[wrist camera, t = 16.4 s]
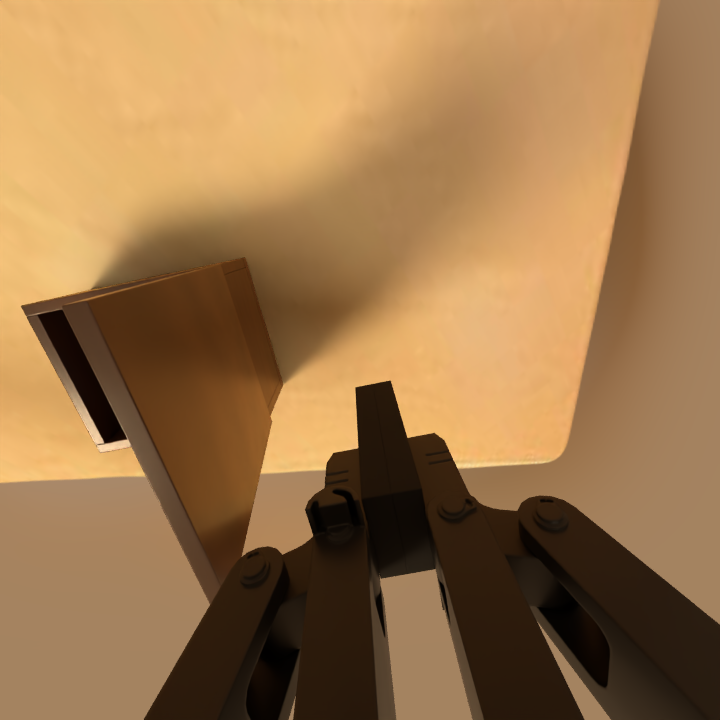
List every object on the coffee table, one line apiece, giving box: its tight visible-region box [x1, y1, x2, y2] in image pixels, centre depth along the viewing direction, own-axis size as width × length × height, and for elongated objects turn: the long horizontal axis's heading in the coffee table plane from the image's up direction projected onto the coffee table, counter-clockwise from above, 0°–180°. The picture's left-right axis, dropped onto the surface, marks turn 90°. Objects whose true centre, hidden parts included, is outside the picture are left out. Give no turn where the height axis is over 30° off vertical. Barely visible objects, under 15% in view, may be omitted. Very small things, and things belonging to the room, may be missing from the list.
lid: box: [61, 264, 272, 604], centre depth 21 cm, size 17×14×1 cm
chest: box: [21, 257, 283, 453], centre depth 33 cm, size 16×14×8 cm
